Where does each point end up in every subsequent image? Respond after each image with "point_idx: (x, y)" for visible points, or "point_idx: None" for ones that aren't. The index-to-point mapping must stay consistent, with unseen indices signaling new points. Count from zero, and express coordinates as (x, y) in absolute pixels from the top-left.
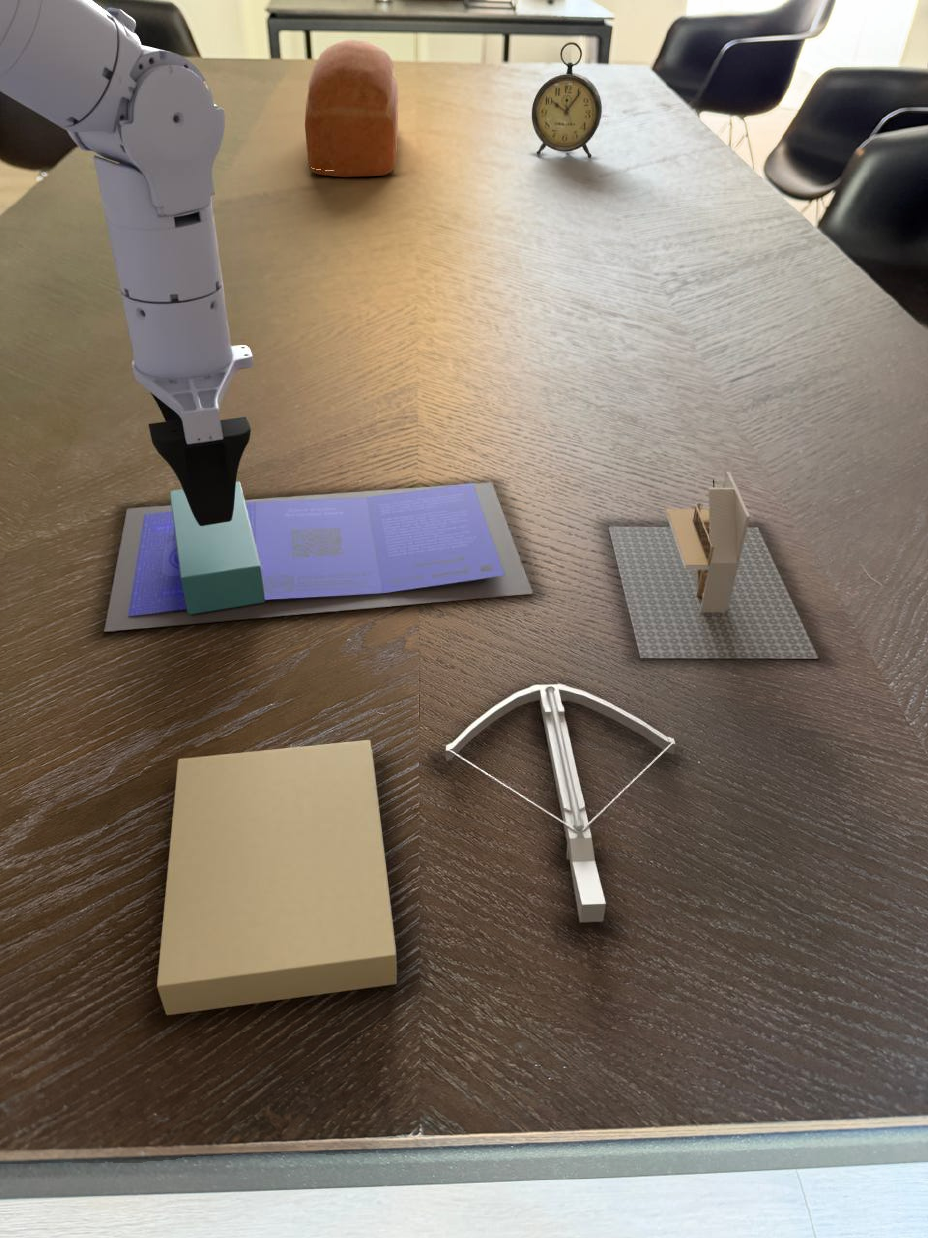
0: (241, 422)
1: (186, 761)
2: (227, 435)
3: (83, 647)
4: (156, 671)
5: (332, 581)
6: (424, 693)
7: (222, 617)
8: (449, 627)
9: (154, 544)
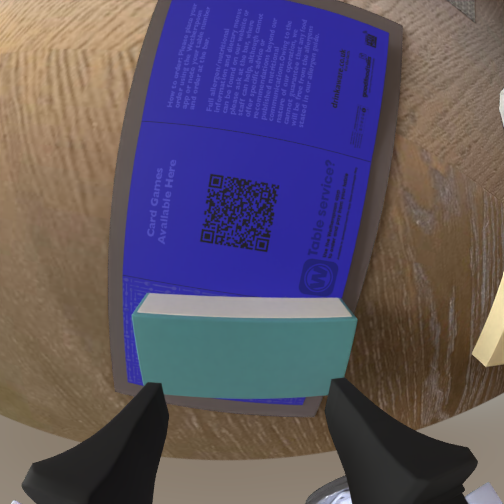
0: (445, 481)
1: (489, 362)
2: (462, 481)
3: (324, 424)
4: (378, 381)
5: (333, 214)
6: (484, 183)
7: None
8: (430, 120)
9: None
